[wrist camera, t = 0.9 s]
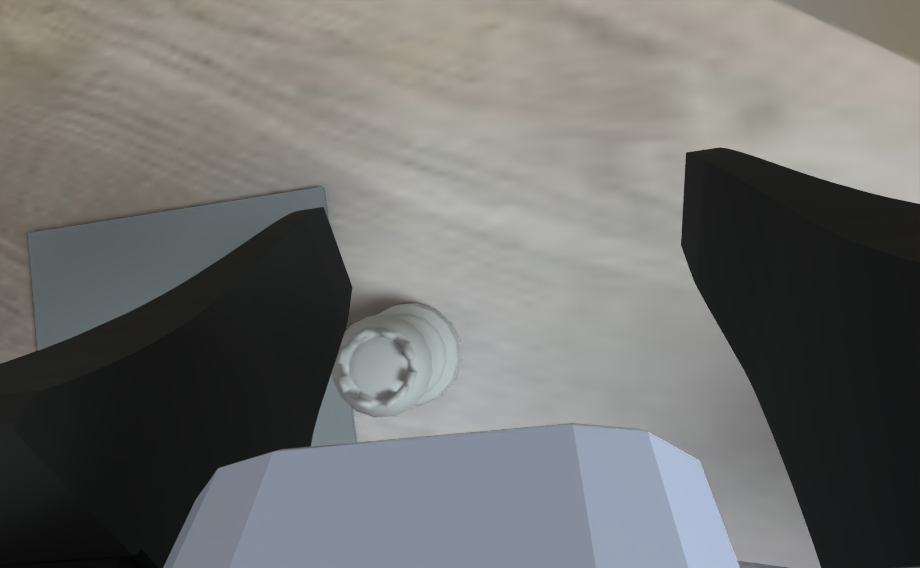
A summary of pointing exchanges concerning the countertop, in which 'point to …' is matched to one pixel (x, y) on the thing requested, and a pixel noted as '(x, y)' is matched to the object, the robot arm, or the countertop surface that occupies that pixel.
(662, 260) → the countertop surface
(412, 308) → the rook chess piece
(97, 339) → the robot arm
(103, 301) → the mat
